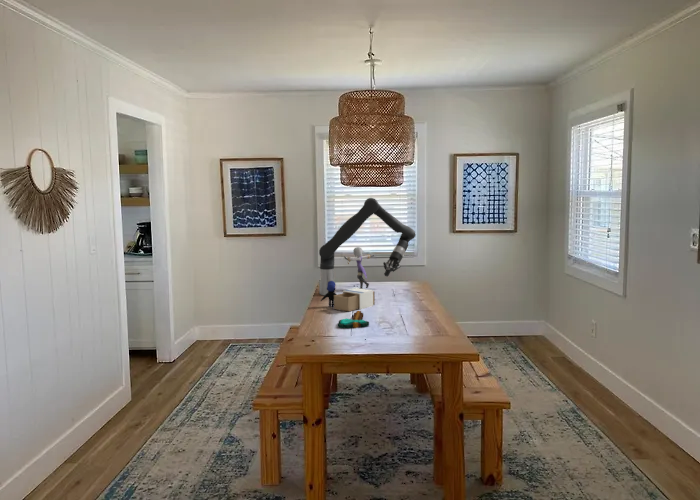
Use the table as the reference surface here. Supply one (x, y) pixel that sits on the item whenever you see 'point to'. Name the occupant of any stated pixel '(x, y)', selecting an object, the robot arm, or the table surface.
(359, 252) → the figurine
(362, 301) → the sleeve
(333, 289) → the toy
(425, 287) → the table surface
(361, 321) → the toy
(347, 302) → the wooden drawer
